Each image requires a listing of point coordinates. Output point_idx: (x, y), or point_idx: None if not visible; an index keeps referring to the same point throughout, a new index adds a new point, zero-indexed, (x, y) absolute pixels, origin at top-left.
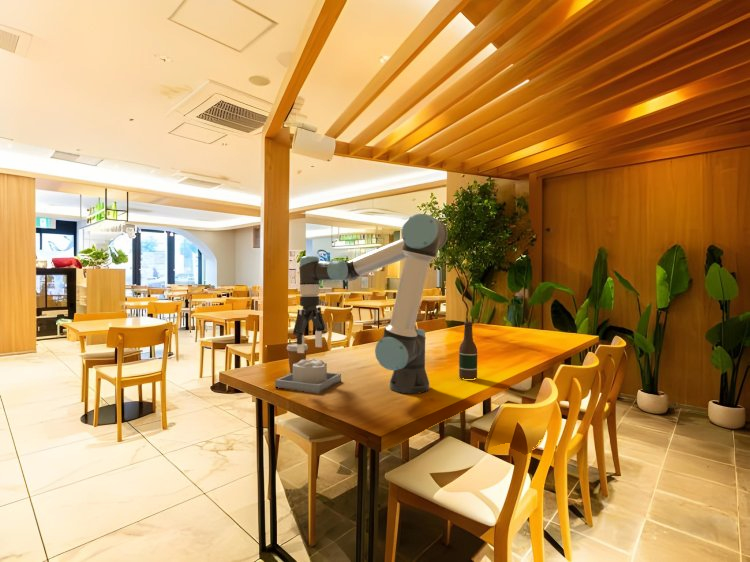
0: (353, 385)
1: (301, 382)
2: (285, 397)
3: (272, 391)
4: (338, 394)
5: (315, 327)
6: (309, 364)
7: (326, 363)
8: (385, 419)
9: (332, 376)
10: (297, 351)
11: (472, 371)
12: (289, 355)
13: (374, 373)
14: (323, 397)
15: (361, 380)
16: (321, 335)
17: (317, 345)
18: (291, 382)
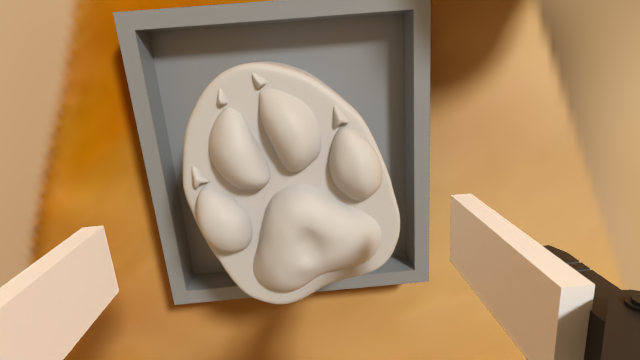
0: (377, 340)
1: (166, 196)
2: (47, 182)
3: (77, 51)
4: (224, 352)
5: (604, 342)
6: (213, 245)
7: (373, 270)
8: None
9: (410, 233)
10: (74, 237)
11: None
12: None
13: None
14: (154, 324)
15: (471, 331)
16: (522, 340)
17: (455, 226)
18: (140, 140)
